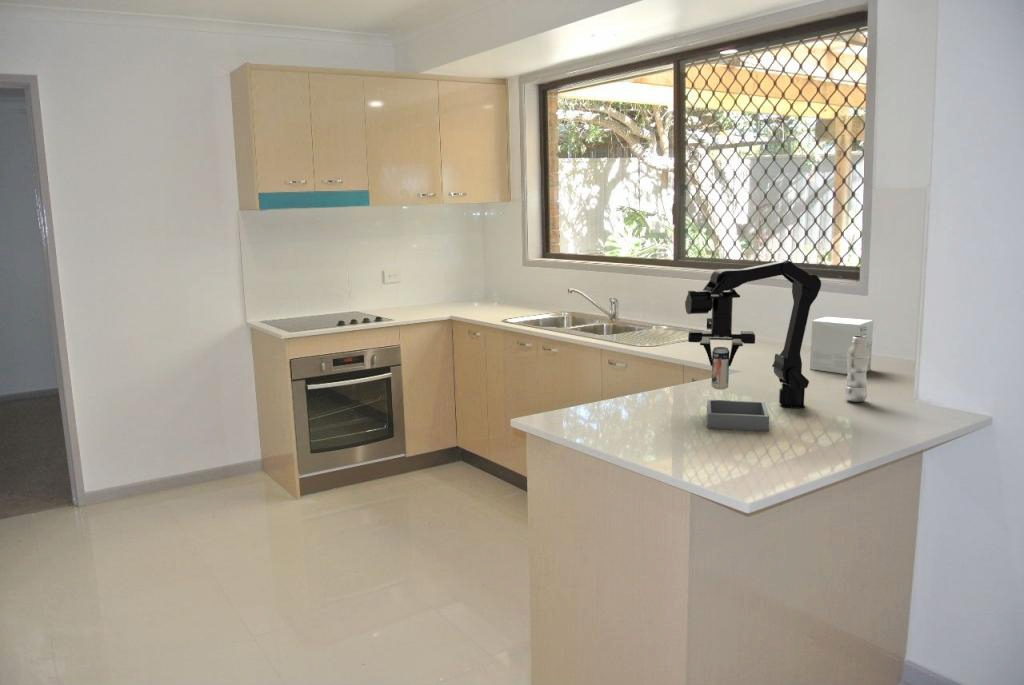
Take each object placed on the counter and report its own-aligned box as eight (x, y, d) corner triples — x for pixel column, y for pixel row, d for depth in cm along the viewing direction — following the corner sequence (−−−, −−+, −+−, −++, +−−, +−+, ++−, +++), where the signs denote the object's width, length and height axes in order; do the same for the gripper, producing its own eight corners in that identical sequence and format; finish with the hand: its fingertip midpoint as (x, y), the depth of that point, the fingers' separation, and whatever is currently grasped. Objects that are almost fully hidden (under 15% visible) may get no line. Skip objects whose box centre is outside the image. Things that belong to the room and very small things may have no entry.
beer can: (709, 386, 241) (710, 346, 239) (725, 385, 241) (726, 346, 239) (714, 390, 236) (715, 349, 234) (730, 389, 236) (731, 349, 234)
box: (764, 415, 231) (764, 401, 230) (768, 431, 216) (769, 416, 215) (706, 412, 235) (707, 399, 234) (707, 428, 219) (707, 413, 219)
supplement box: (871, 370, 288) (874, 319, 285) (857, 376, 279) (860, 324, 276) (823, 363, 300) (826, 315, 297) (808, 369, 291) (811, 319, 287)
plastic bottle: (867, 399, 247) (871, 335, 243) (866, 405, 241) (870, 339, 237) (844, 398, 249) (848, 334, 246) (843, 403, 243) (847, 337, 240)
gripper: (754, 309, 240) (752, 361, 243) (689, 308, 244) (688, 359, 247) (756, 315, 229) (754, 368, 232) (688, 314, 234) (687, 366, 237)
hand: (720, 365), depth 237 cm, fingers closed on beer can, 5 cm apart
